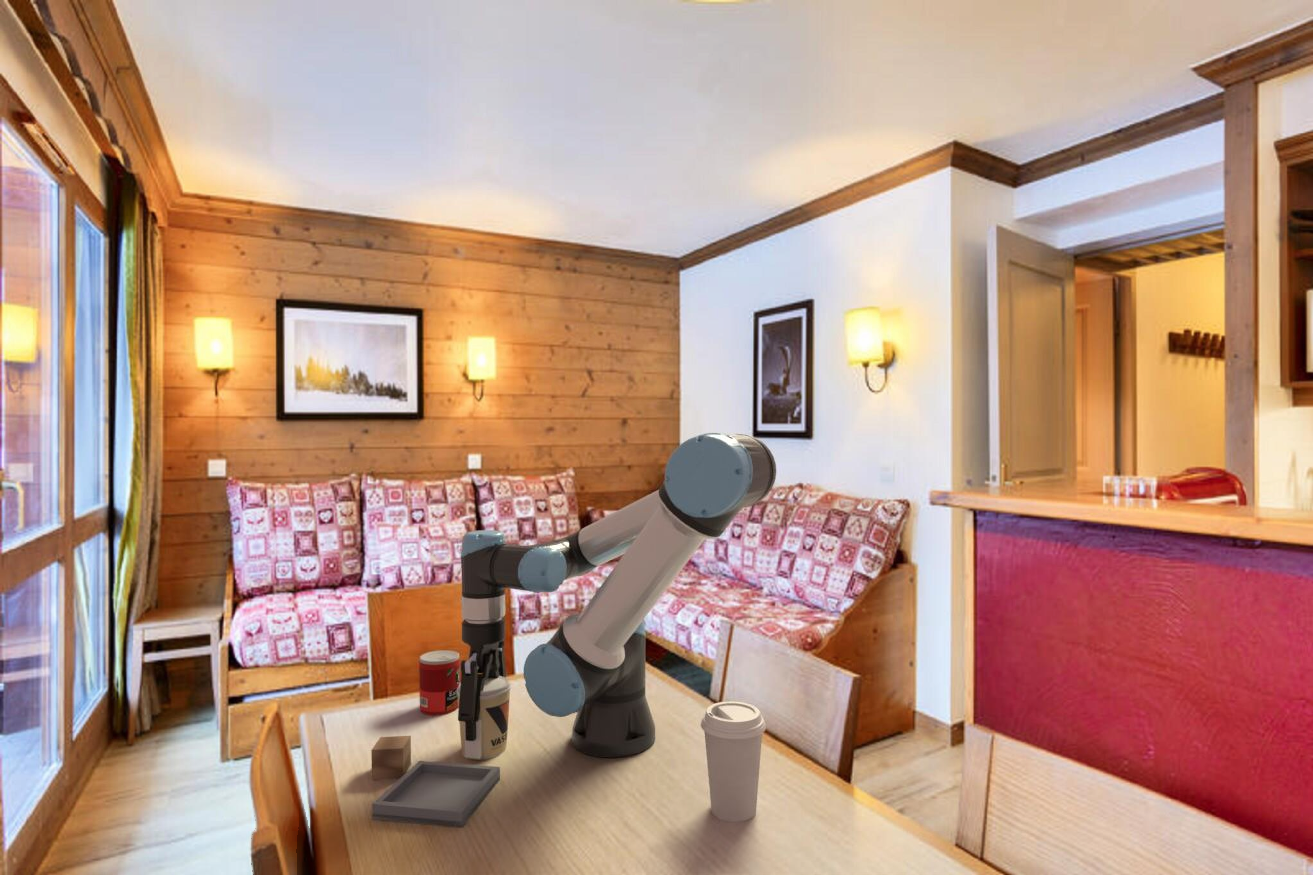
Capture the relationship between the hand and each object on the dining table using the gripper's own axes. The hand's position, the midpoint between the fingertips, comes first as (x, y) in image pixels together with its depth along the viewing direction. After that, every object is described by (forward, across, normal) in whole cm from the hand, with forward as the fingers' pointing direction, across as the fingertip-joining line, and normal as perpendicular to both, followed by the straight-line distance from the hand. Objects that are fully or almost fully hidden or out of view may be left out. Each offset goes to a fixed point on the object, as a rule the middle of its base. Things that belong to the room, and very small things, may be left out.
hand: (484, 745), depth 126 cm
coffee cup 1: (+1, 0, 0) cm, 1 cm away
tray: (+1, +17, 0) cm, 17 cm away
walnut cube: (+1, +10, -12) cm, 16 cm away
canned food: (+1, -17, -17) cm, 24 cm away
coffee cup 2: (+1, +14, +45) cm, 47 cm away
